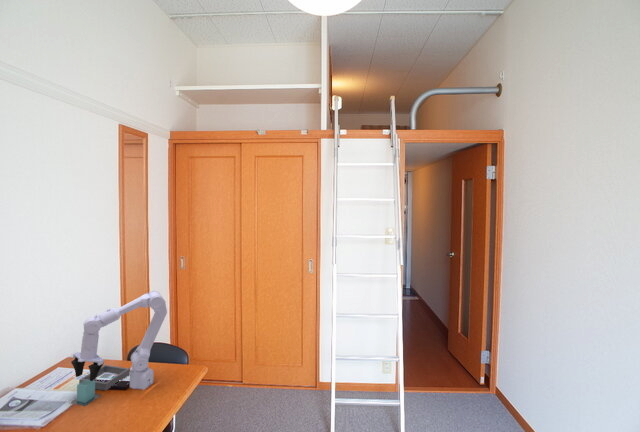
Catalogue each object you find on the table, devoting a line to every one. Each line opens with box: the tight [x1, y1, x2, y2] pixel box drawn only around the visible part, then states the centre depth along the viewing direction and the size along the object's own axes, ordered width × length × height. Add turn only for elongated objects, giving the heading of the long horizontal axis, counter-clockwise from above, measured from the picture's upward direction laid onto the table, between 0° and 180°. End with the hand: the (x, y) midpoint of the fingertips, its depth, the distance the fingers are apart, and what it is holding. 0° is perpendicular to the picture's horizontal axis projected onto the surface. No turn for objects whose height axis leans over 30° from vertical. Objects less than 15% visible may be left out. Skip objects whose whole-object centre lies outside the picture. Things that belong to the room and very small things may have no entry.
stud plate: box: [70, 393, 102, 407], centre depth 135 cm, size 8×8×4 cm
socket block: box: [76, 379, 96, 403], centre depth 135 cm, size 4×4×7 cm
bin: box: [78, 364, 131, 391], centre depth 149 cm, size 14×14×4 cm
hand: (85, 377), depth 135 cm, fingers open, 7 cm apart
